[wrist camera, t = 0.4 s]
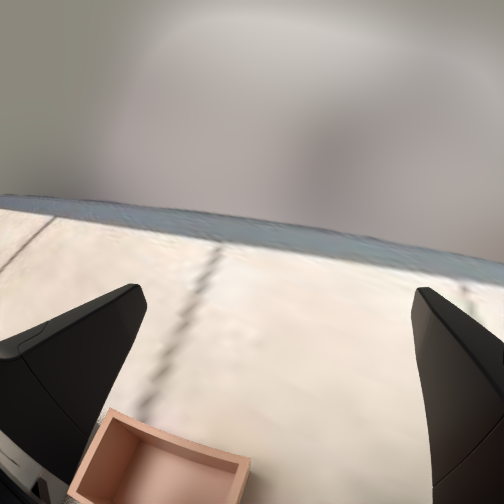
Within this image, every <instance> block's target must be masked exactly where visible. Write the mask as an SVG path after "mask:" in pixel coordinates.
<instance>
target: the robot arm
mask: <svg viewBox="0 0 504 504" xmlns="http://www.w3.org/2000/svg"><path fill="white" fill-rule="evenodd" d="M146 311H147V302H146V299H145V296H144V294H143V291H142V288H141V286H140V285H138V284H127V285H125V286H123V287H120V288H118V289H116V290H114V291H111V292H109V293H107V294H105V295H103V296H100V297H98V298H96V299H94V300H92V301H89V302H87V303H85V304H83V305H81V306H79V307H76V308H74V309H72V310H70V311H68V312H66V313H63V314H61V315H59V316H57V317H55V318H53V319H51V320H50V321H46V322H44V323H42V324H40V325H38V326H35V327H33V328H31V329H29V330H26V331H24V332H22V333H19V334H17V335H15V336H12V337H10V338H7V339H5V340H2V341H0V504H51V501H50V496H49V491H48V486H47V481H46V480H44V479H43V478H42V477H40V475H41V474H42V472H43V471H44V469H46V470H47V471H48V472H50V473H51V474H52V475H54V476H55V477H57V478H58V479H60V480H61V481H62V482H64V483H65V484H67V485H68V486H70V485H71V483H72V480H73V478H74V475H75V473H76V470H77V467H78V465H79V462H80V460H81V457H82V455H83V452H84V450H85V448H86V445H87V443H88V440H89V439H88V438H90V435H91V433H92V431H93V428H94V426H95V424H96V421H97V419H98V417H99V415H100V412H101V410H102V408H103V406H104V404H105V401H106V399H107V397H108V395H109V393H110V391H111V388H112V386H113V384H114V382H115V380H116V378H117V376H118V374H119V372H120V370H121V368H122V366H123V364H124V362H125V360H126V357H127V355H128V353H129V351H130V350H131V347H132V345H133V343H134V341H135V338H136V336H137V333H138V331H139V328H140V326H141V323H142V321H143V318H144V316H145V313H146ZM411 320H412V327H413V335H414V344H415V353H416V361H417V367H418V371H419V376H420V382H421V387H422V393H423V398H424V405H425V411H426V418H427V425H428V434H429V443H430V453H431V466H432V486H433V488H432V491H433V504H504V342H502V341H501V340H500V339H499V338H497V337H496V336H495V335H494V334H492V333H491V332H490V331H488V330H487V329H486V328H485V327H483V326H482V325H481V324H479V323H478V322H477V321H475V320H474V319H473V318H471V317H470V316H469V315H467V314H466V313H465V312H463V311H462V310H461V309H459V308H458V307H457V306H455V305H454V304H452V303H451V302H450V301H448V300H447V299H445V298H444V297H443V296H441V295H440V294H438V293H437V292H436V291H434V290H433V289H431V288H430V287H419V288H417V289H416V291H415V296H414V301H413V305H412V310H411Z"/></svg>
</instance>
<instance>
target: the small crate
mask: <svg viewBox="0 0 504 504" xmlns="http://www.w3.org/2000/svg"><path fill="white" fill-rule="evenodd" d="M250 459H251V458H247V457H243V456H239V455H235V454H231V453H227V452H224V451H220V450H217V449H213V448H210V447H207V446H204V445H200V444H197V443H194V442H191V441H188V440H186V439H183V438H180V437H177V436H174V435H172V434H169V433H166V432H164V431H161V430H159V429H156V428H154V427H151V426H149V425H147V424H144V423H142V422H140V421H137V420H135V419H133V418H131V417H129V416H126V415H124V414H122V413H120V412H118V411H116V410H114V409H112V408H109V410H108V412H107V414H106V416H105V418H104V419H103V421H102V423H101V425H100V427H99V429H98V431H97V433H96V435H95V437H94V439H93V441H92V443H91V445H90V447H89V449H88V451H87V453H86V455H85V457H84V459H83V461H82V463H81V465H80V467H79V469H78V471H77V473H76V475H75V477H74V479H73V481H72V483H71V485H70V488H69V490H68V492H67V494H68V495H70V496H71V497H73V498H74V499H76V500H77V501H79V502H80V503H82V504H240V501H241V498H242V495H243V492H244V489H245V486H246V483H247V480H248V477H249V474H250Z"/></svg>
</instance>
